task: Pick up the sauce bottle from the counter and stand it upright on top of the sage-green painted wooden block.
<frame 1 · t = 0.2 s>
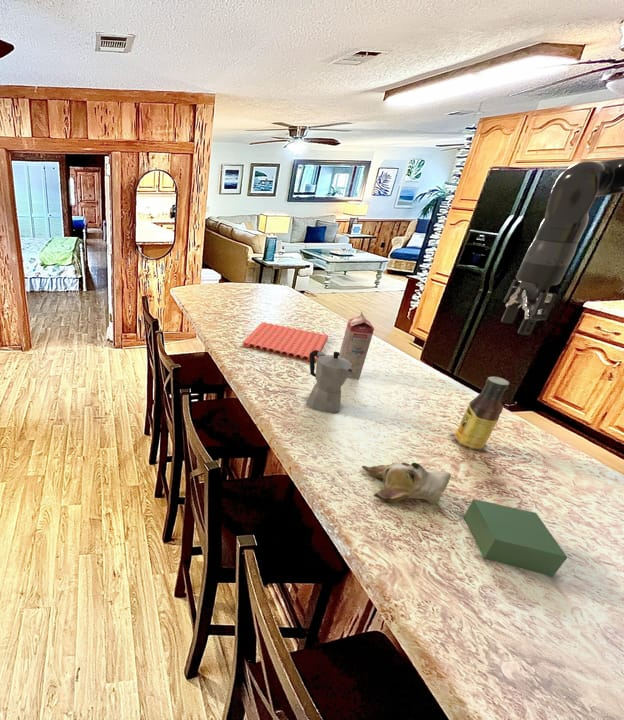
hand: (514, 328, 94), 30 cm above the countertop, tool pointing down, fingers open, 8 cm apart
sauce bottle: (466, 446, 100), on the countertop
red corrugated roof tile: (285, 343, 160), on the countertop
green block: (502, 548, 73), on the countertop
coffeepot: (320, 404, 117), on the countertop
juice carton: (346, 374, 136), on the countertop
ceramic sculpture: (401, 494, 85), on the countertop
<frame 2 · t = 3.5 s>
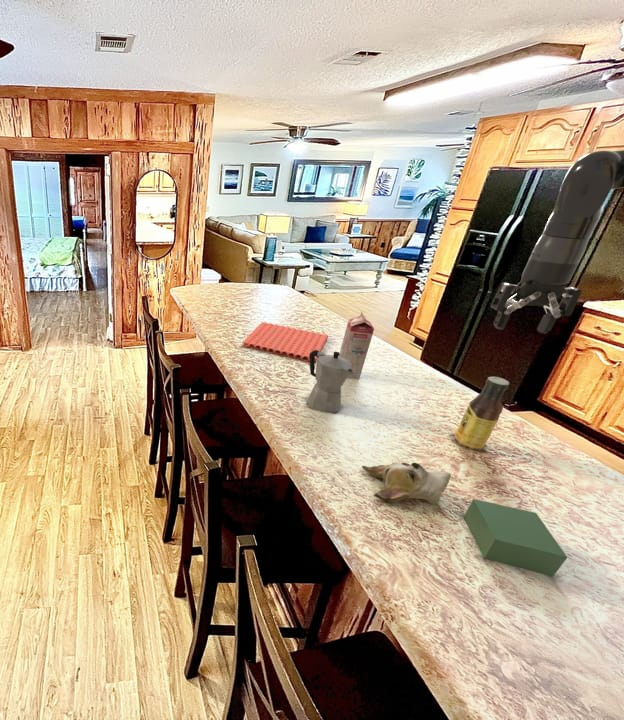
hand: (519, 330, 88), 32 cm above the countertop, tool pointing down, fingers open, 8 cm apart
nothing on the countertop moved.
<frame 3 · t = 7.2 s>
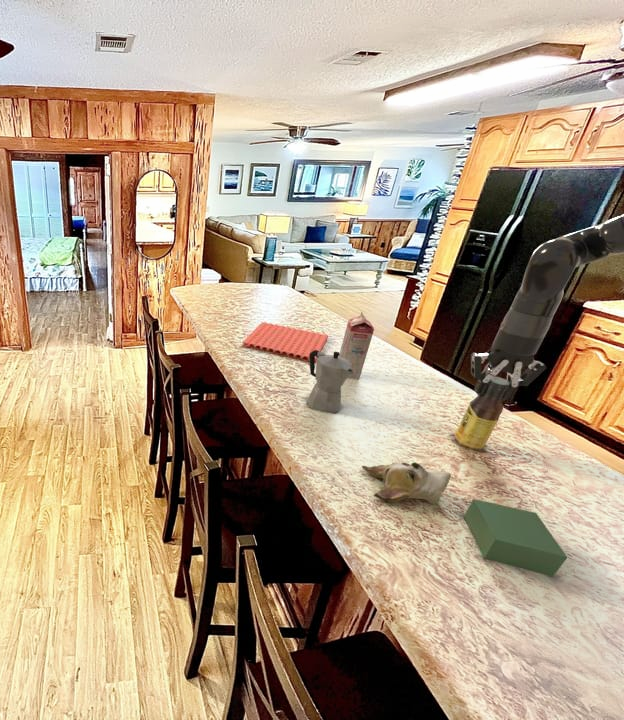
hand: (490, 395, 93), 15 cm above the countertop, tool pointing down, fingers closed on sauce bottle, 4 cm apart
sauce bottle: (466, 446, 100), on the countertop, touching gripper
everything else where it was.
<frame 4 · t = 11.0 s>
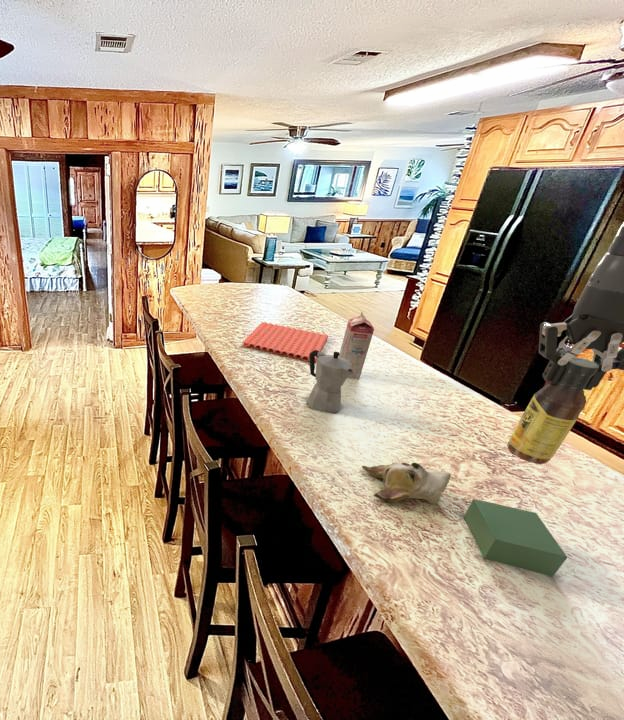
hand: (566, 384, 66), 31 cm above the countertop, tool pointing down, fingers closed on sauce bottle, 4 cm apart
sauce bottle: (525, 456, 72), point 16 cm above the countertop, touching gripper
everything else where it was.
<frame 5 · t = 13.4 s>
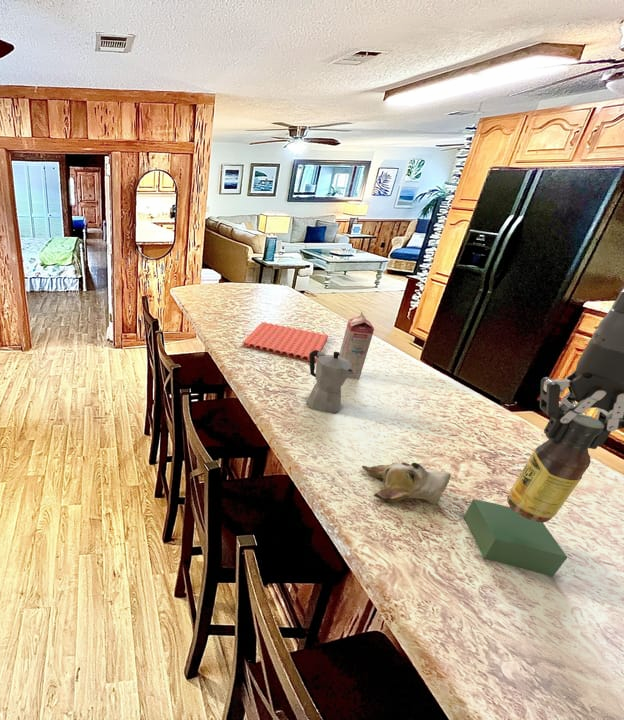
hand: (569, 442, 62), 25 cm above the countertop, tool pointing down, fingers closed on sauce bottle, 4 cm apart
sauce bottle: (526, 511, 69), point 9 cm above the countertop, touching gripper
everything else where it was.
when the fingers open (21 cm above the countertop, at t = 14.9 s): sauce bottle stays where it is, resting on green block.
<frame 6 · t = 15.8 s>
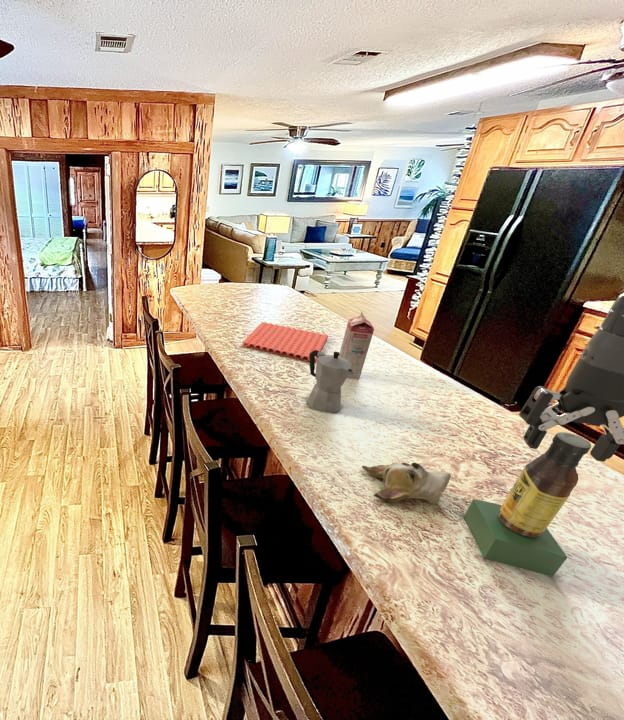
hand: (562, 451, 63), 23 cm above the countertop, tool pointing down, fingers open, 8 cm apart
sauce bottle: (517, 526, 70), point 6 cm above the countertop, touching green block
green block: (502, 548, 73), on the countertop, touching sauce bottle
everything else where it was.
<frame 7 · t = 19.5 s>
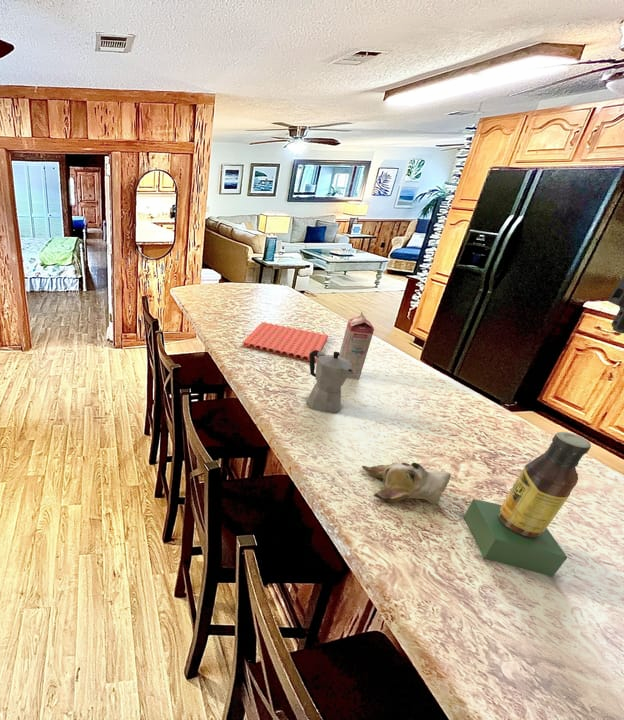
nothing on the countertop moved.
at the end: sauce bottle 0.2 cm off-centre on the green block, point 5.8 cm above the green block's base; sauce bottle tilted 0°; the gripper is holding nothing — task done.
